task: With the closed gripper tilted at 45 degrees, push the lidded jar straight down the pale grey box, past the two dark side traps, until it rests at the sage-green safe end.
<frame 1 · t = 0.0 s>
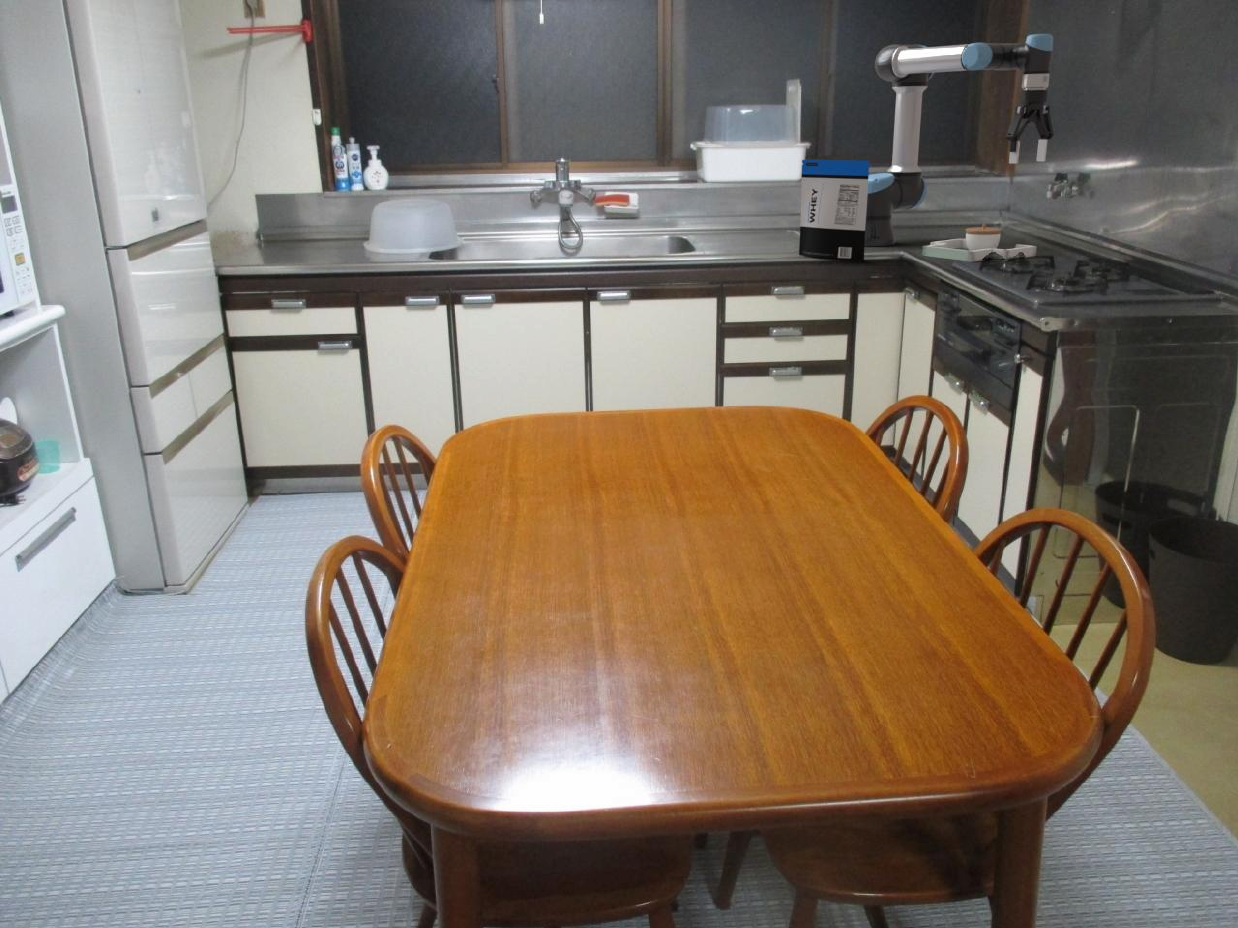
hand: (1027, 162, 316), 28 cm above the table, tool pointing down, fingers open, 13 cm apart
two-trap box: (969, 255, 325), on the table
lidded jar: (981, 254, 328), on the table
protein powder: (830, 258, 327), on the table
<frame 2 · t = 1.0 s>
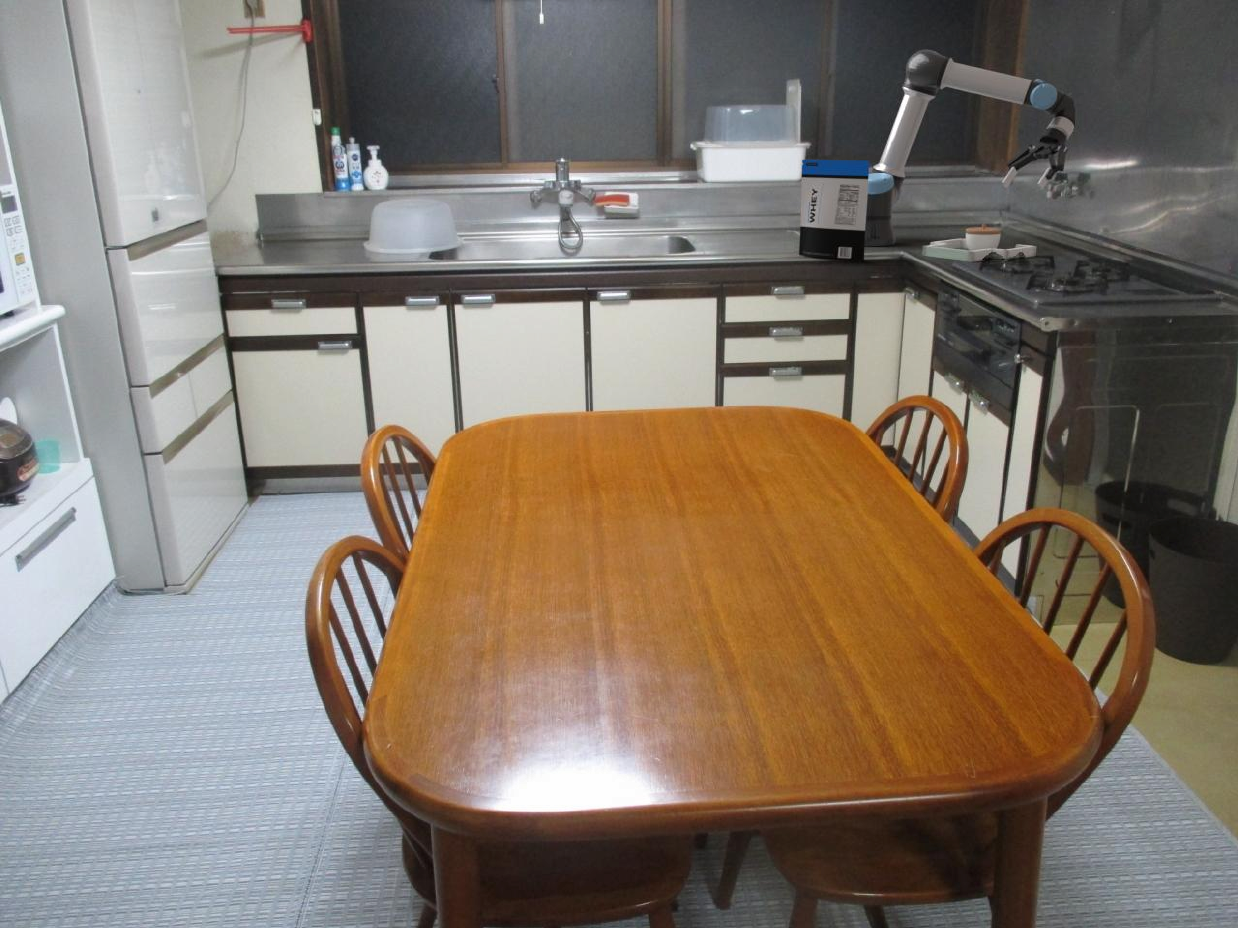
hand: (1021, 185, 329), 20 cm above the table, tool tilted 45°, fingers open, 13 cm apart
nothing on the table moved.
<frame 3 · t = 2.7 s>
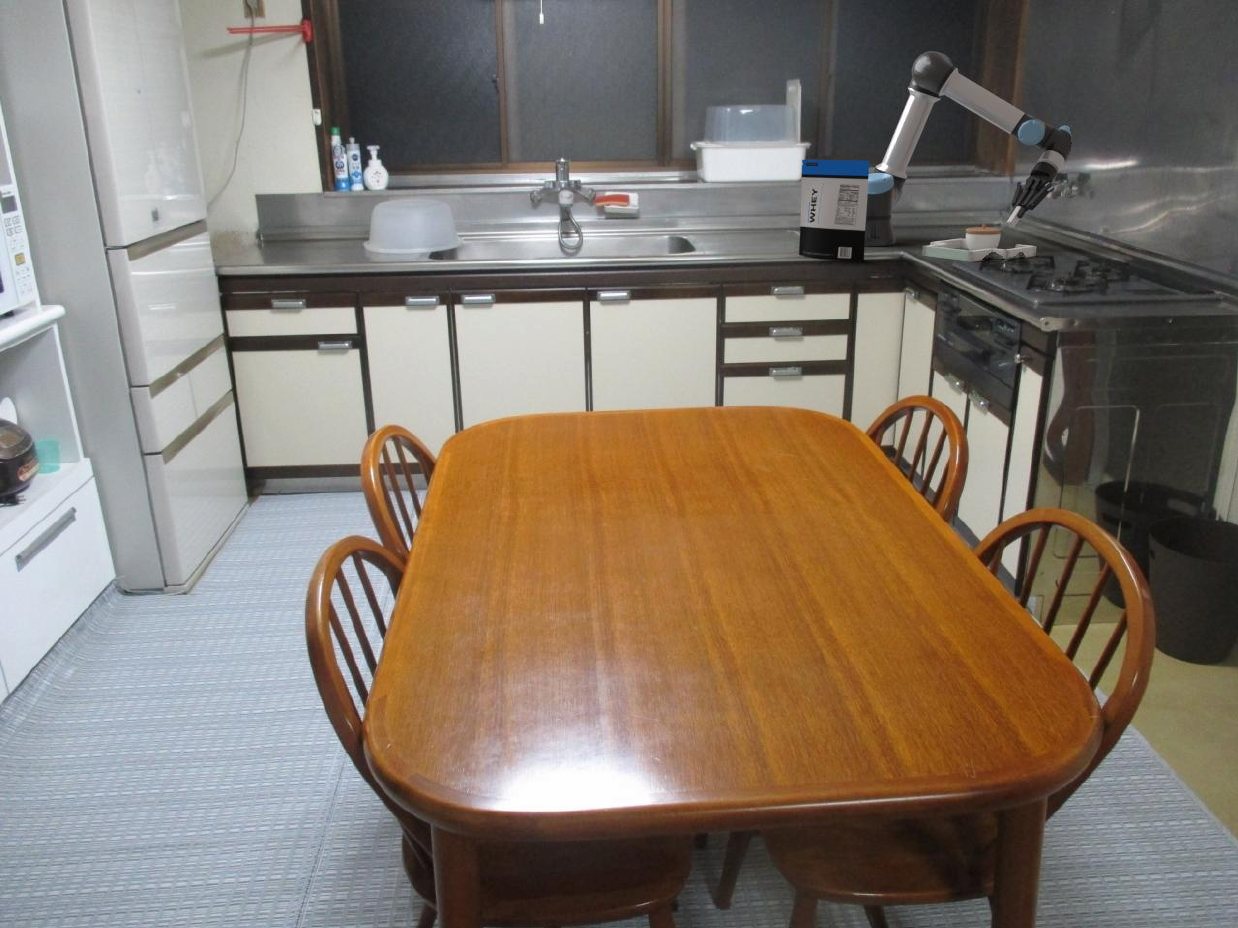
hand: (1010, 224, 331), 8 cm above the table, tool tilted 45°, fingers closed
nothing on the table moved.
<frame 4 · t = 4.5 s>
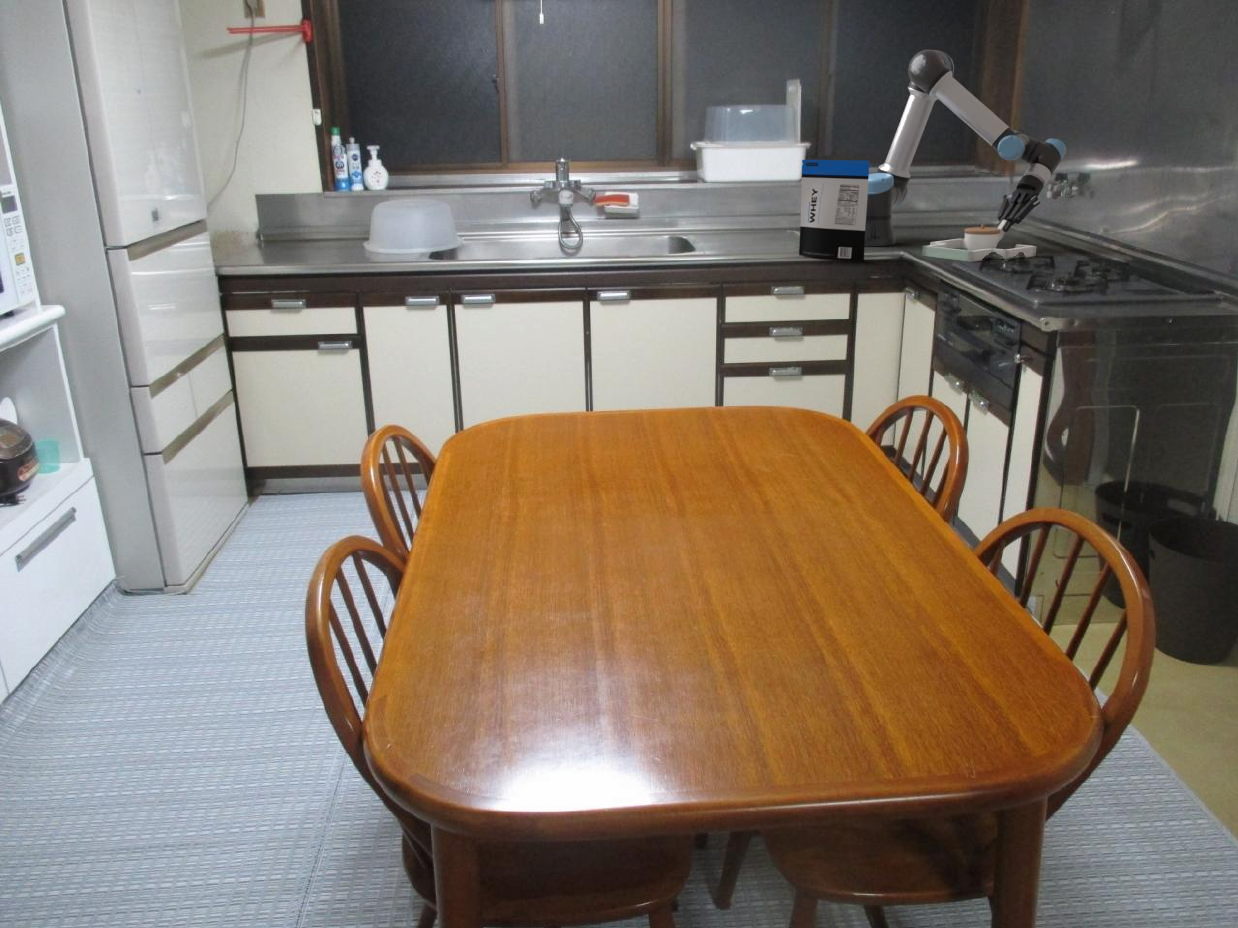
hand: (996, 238, 329), 4 cm above the table, tool tilted 45°, fingers closed
lidded jar: (980, 254, 327), on the table, touching gripper
everything else where it was.
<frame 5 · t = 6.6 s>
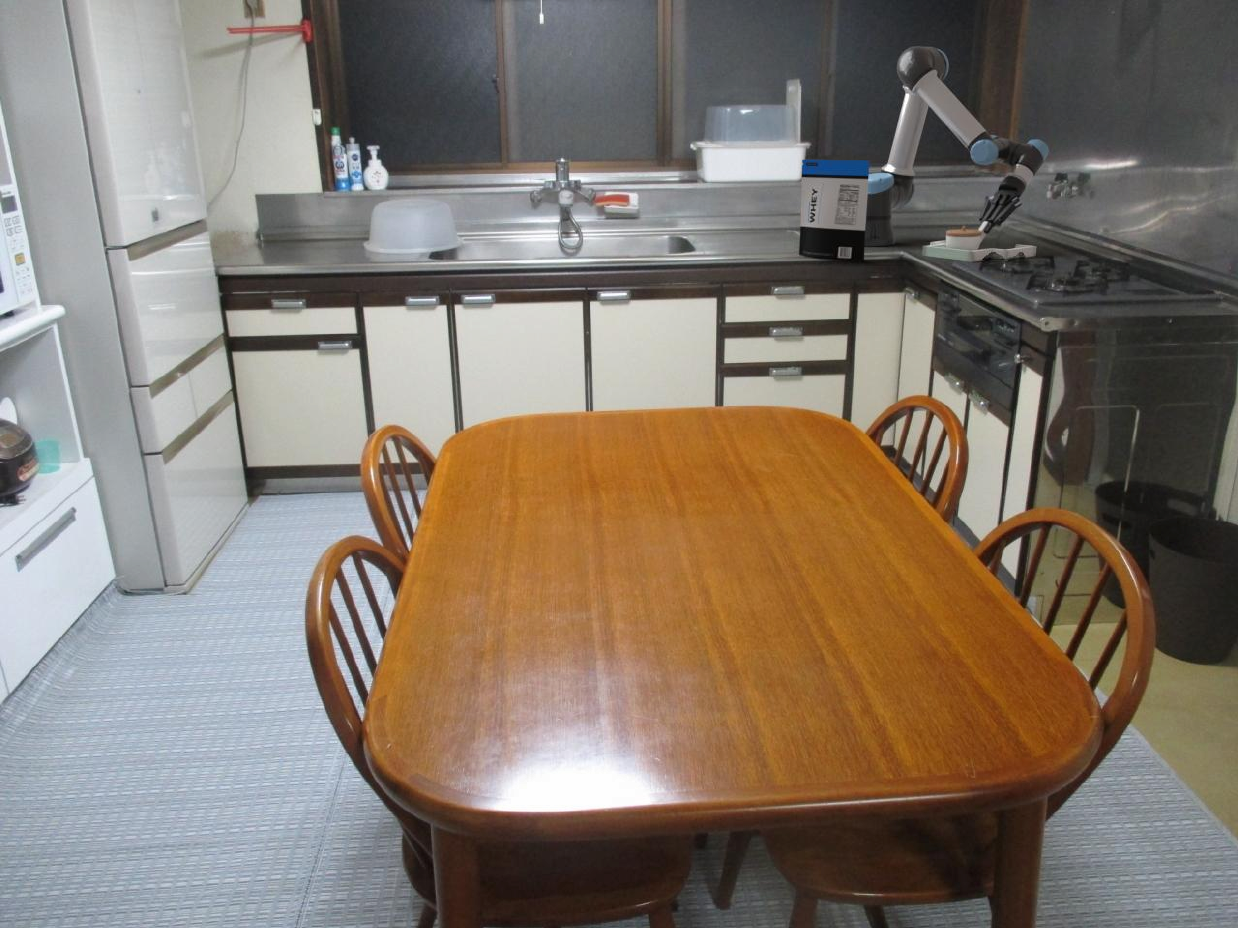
hand: (976, 240, 325), 5 cm above the table, tool tilted 45°, fingers closed
lidded jar: (961, 257, 323), on the table, touching gripper
everything else where it was.
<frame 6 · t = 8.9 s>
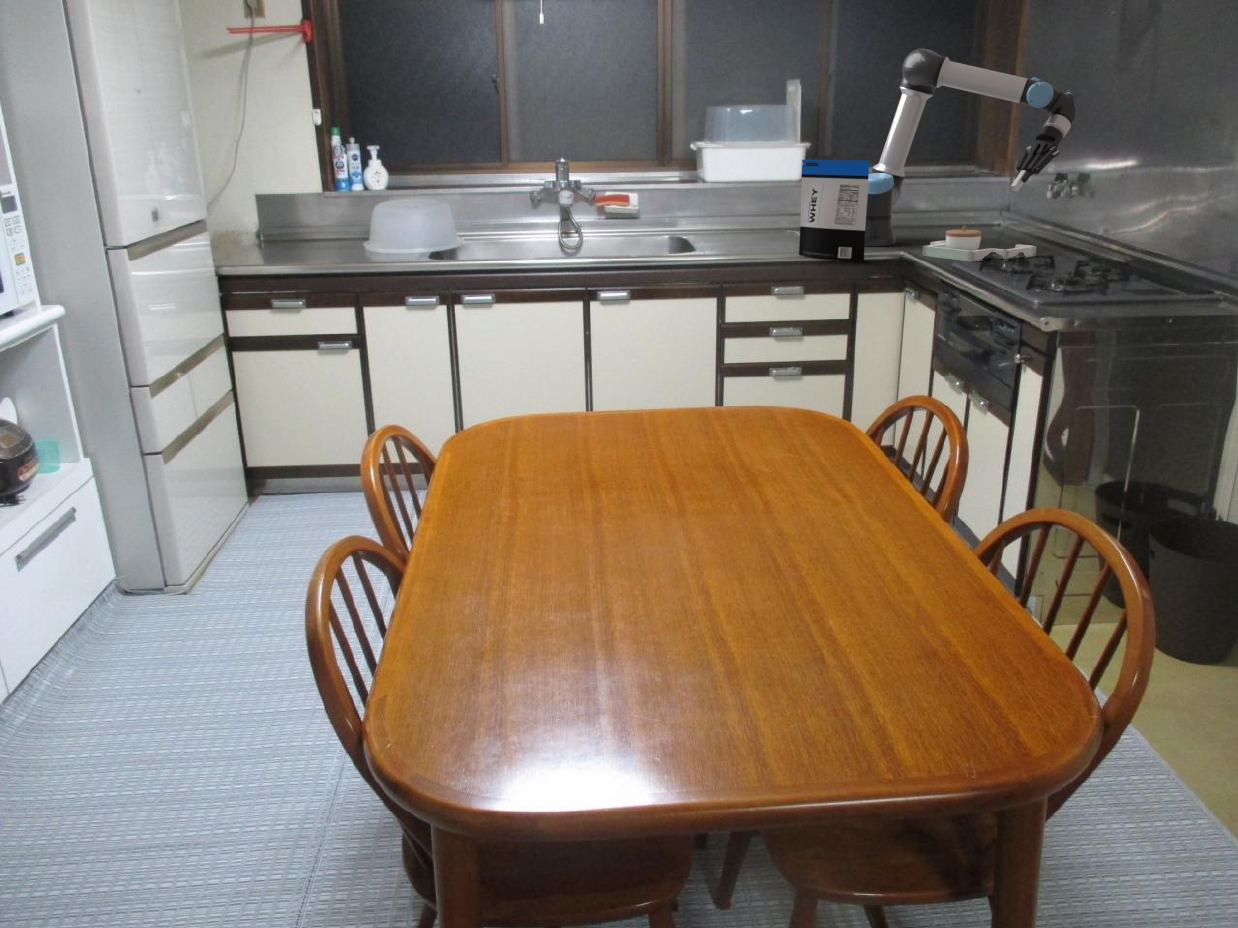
hand: (1014, 188, 328), 19 cm above the table, tool tilted 45°, fingers closed
lidded jar: (961, 257, 323), on the table
everything else where it was.
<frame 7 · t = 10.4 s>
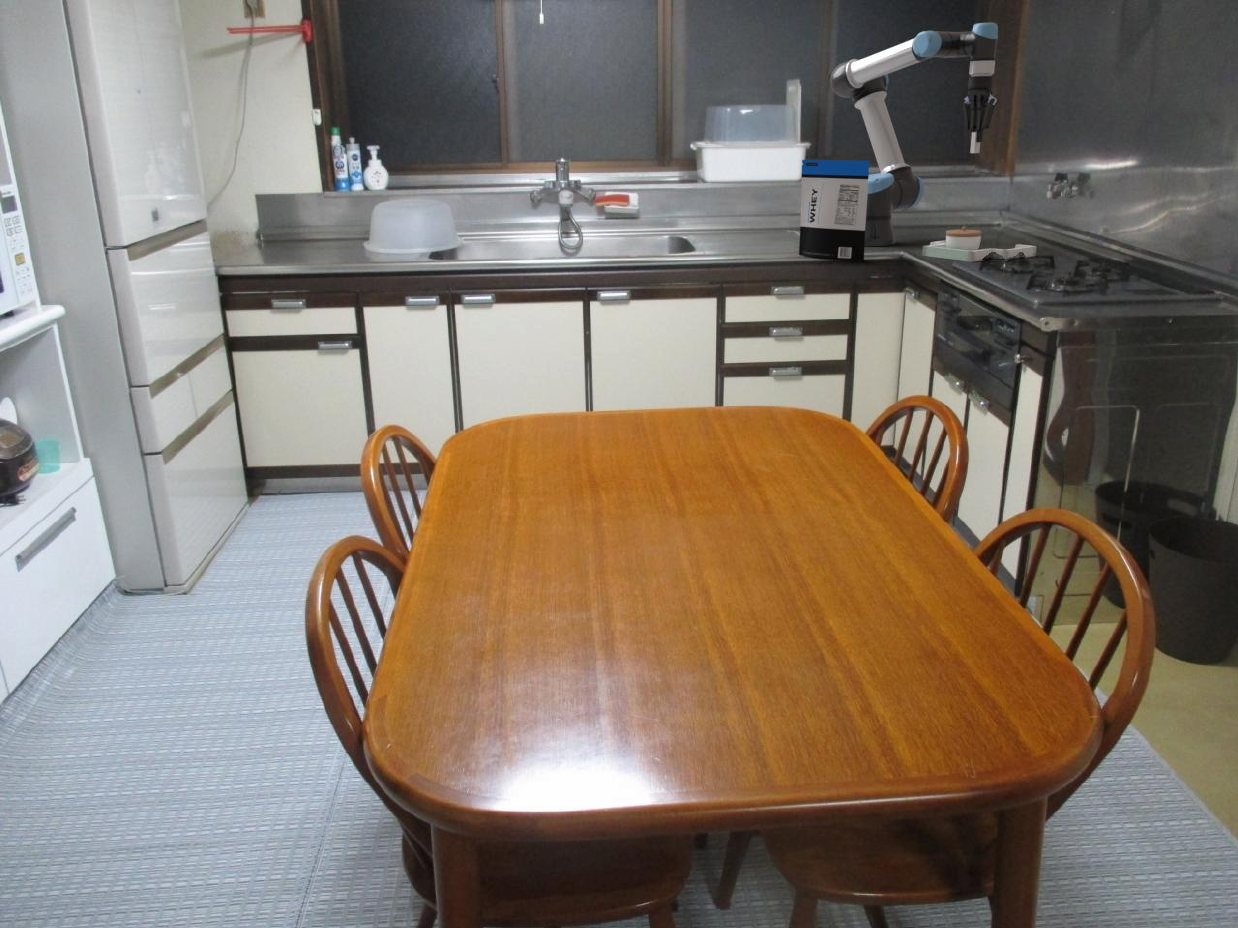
hand: (974, 153, 333), 30 cm above the table, tool pointing down, fingers closed
nothing on the table moved.
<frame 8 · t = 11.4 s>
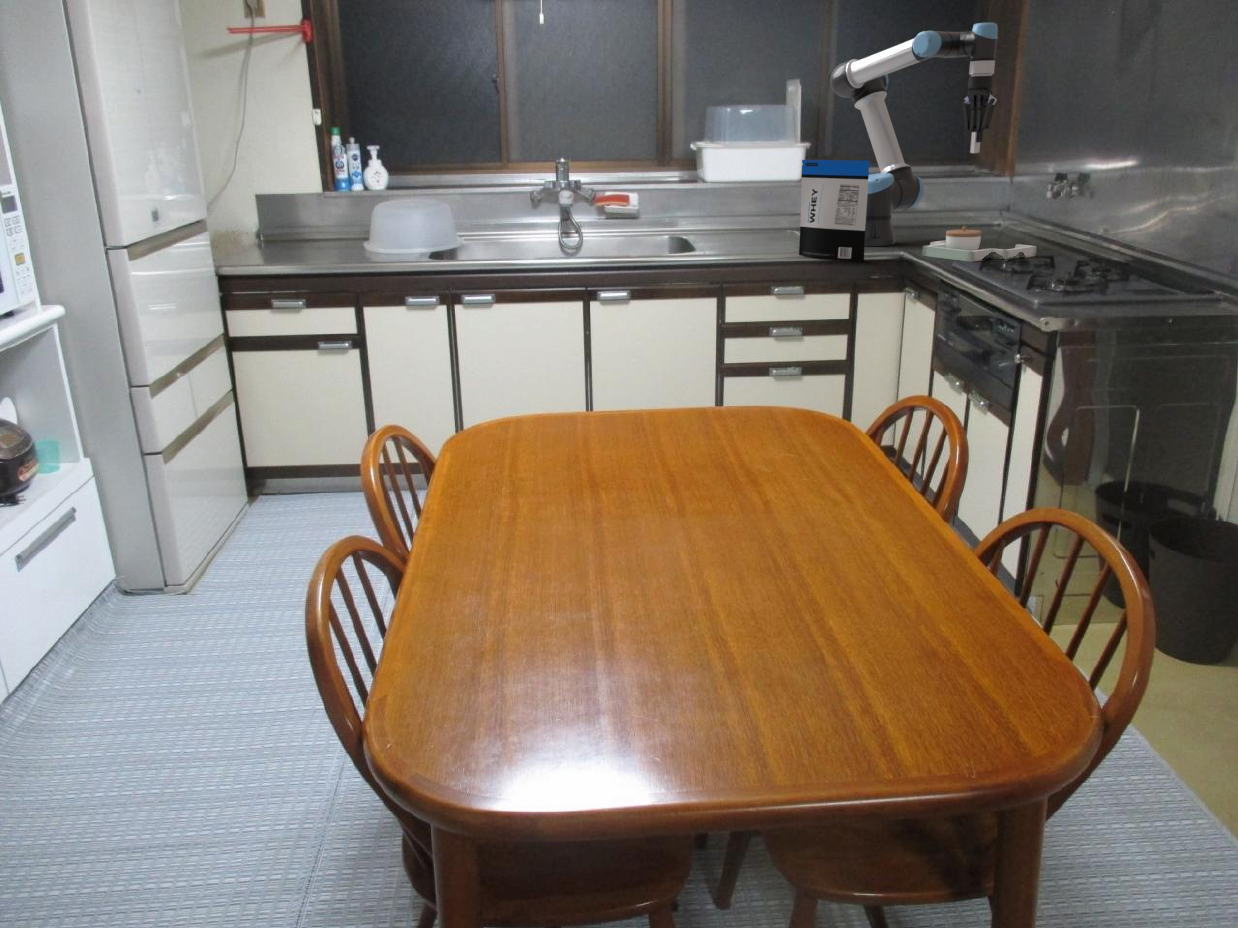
hand: (974, 153, 333), 30 cm above the table, tool pointing down, fingers closed
nothing on the table moved.
at the end: lidded jar inside the target area (0.6 cm from its centre), on the table; lidded jar tilted 0°; lidded jar moved 9.3 cm from its start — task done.
